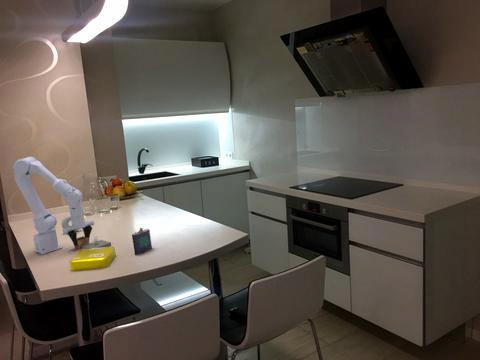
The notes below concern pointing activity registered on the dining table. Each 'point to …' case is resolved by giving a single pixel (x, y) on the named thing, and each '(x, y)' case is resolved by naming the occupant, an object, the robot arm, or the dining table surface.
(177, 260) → the dining table surface
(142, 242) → the flask
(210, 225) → the dining table surface
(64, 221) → the donut
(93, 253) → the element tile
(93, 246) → the rod stand
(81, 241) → the wooden square ring
